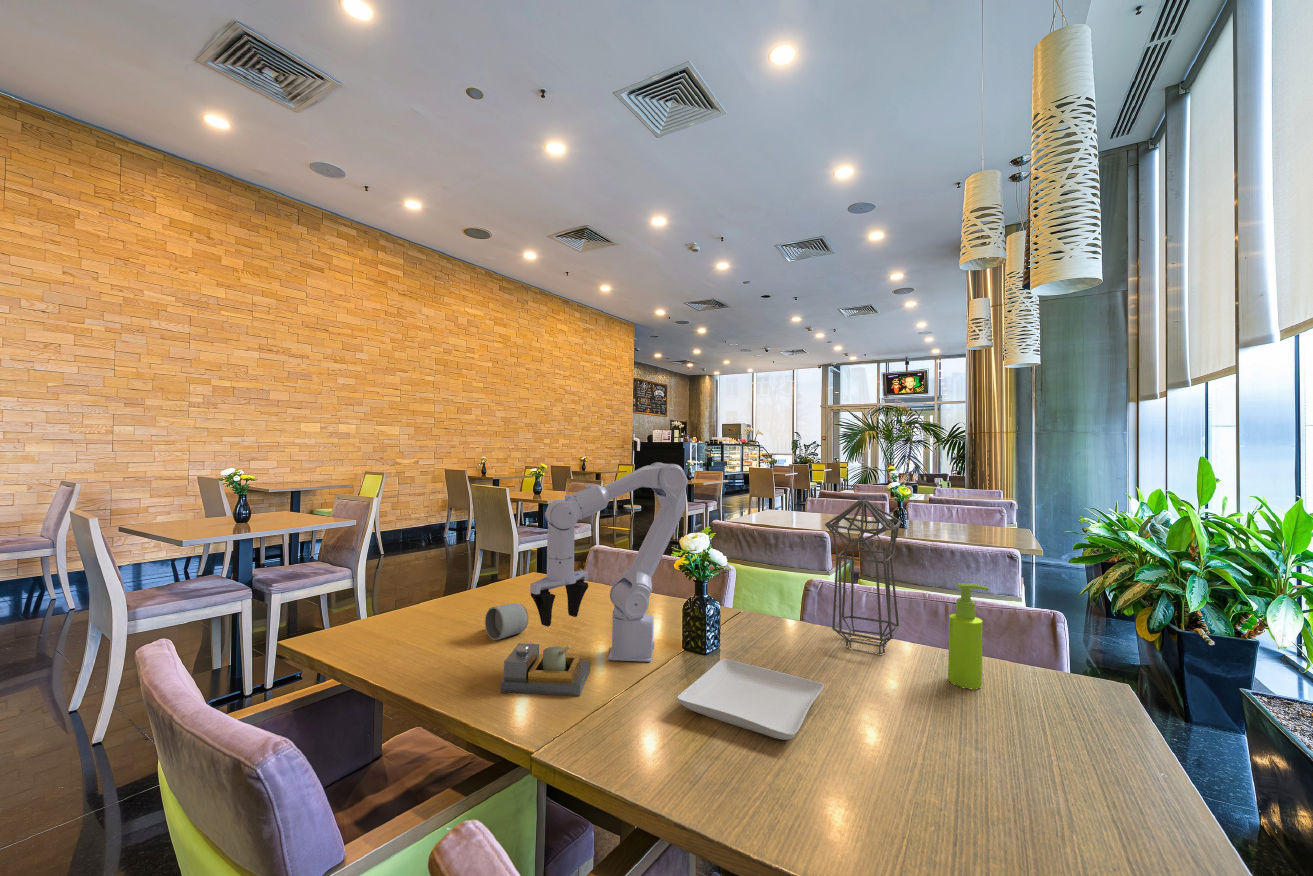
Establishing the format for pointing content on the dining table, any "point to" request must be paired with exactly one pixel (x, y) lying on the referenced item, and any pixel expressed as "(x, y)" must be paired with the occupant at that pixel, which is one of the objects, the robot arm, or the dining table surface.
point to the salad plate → (752, 698)
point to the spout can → (554, 658)
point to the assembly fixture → (542, 674)
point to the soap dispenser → (965, 641)
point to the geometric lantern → (894, 529)
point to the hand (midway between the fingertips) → (559, 620)
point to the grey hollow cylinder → (506, 620)
